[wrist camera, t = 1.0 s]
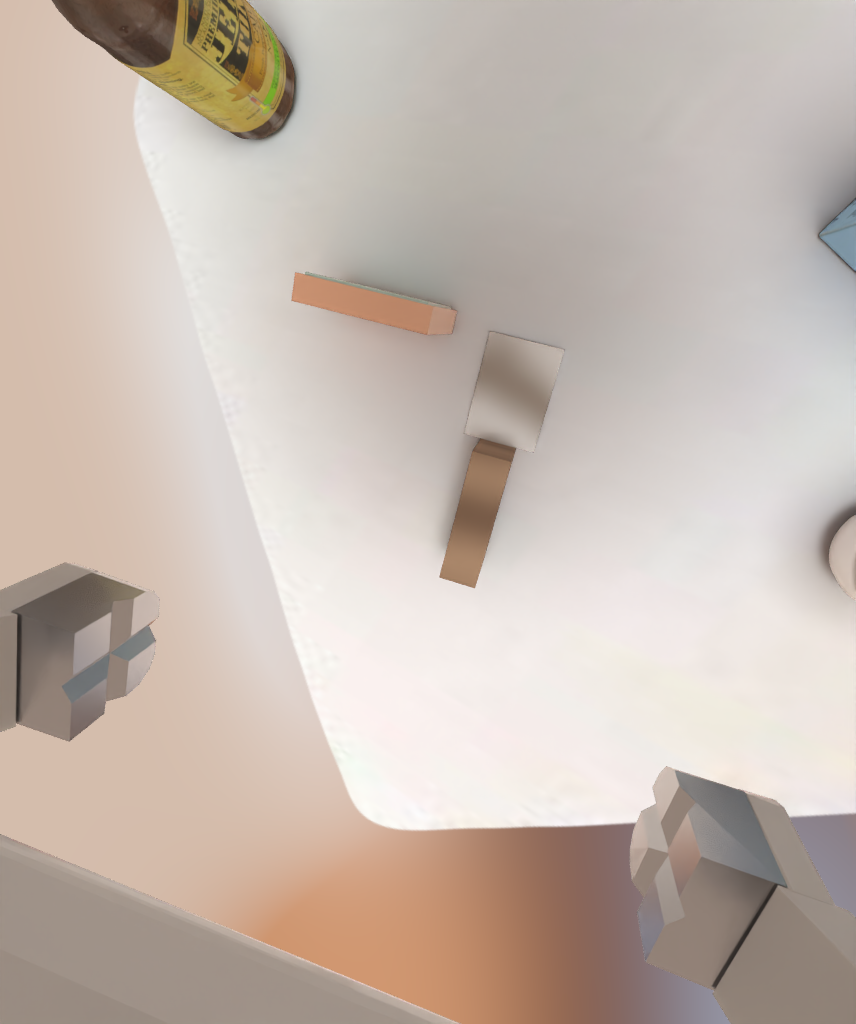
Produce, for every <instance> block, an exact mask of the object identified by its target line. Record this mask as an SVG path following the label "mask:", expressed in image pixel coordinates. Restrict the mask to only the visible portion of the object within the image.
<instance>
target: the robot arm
mask: <svg viewBox="0 0 856 1024" xmlns="http://www.w3.org/2000/svg"><path fill="white" fill-rule="evenodd" d="M159 601H160V599H159V597H158V596H157V595H156V594H155V592H154V591H151V590H148V589H146V588H143V587H140V586H137V585H134V584H132V583H129V582H127V581H123V580H121V579H118V578H115V577H113V576H110V575H107V574H105V573H100V572H98V571H96V570H94V569H91V568H87V567H84V566H81V565H78V564H75V563H63V564H60V565H58V566H56V567H53V568H51V569H49V570H46V571H44V572H42V573H39V574H37V575H35V576H32V577H30V578H28V579H25V580H23V581H21V582H19V583H16V584H14V585H11V586H9V587H7V588H4V589H2V590H0V732H2V731H5V730H7V729H10V728H13V727H15V726H16V723H17V724H20V725H23V726H26V727H29V728H32V729H34V730H38V731H40V732H43V733H46V734H49V735H52V736H55V737H57V738H60V739H63V740H66V741H71V740H72V739H73V738H74V737H75V736H77V735H78V734H79V733H81V732H82V731H83V730H84V729H86V728H87V727H88V726H89V725H91V724H92V723H93V722H94V721H95V720H97V719H98V718H99V717H100V716H102V715H103V714H104V711H105V704H106V701H109V700H113V699H116V698H120V697H124V696H126V695H127V694H128V693H130V692H131V691H132V690H133V689H134V688H135V687H136V686H138V685H139V684H140V682H141V681H142V679H143V678H144V676H145V675H146V673H147V672H148V670H149V669H150V666H151V663H152V660H153V657H154V654H155V647H156V640H155V638H154V635H153V633H152V632H151V629H150V627H149V625H150V624H152V623H153V622H154V621H155V620H156V619H157V618H158V617H159ZM653 792H654V796H655V800H656V804H655V805H653V806H651V807H649V808H647V809H645V810H643V811H641V813H640V816H639V818H638V820H637V823H636V825H635V828H634V831H633V836H632V841H631V847H630V870H631V877H632V882H633V883H634V885H635V886H636V888H637V889H638V890H639V892H640V893H641V895H642V896H643V897H644V899H643V901H642V903H641V905H640V907H639V909H638V911H637V915H638V921H639V927H640V933H641V938H642V945H643V951H644V956H645V962H647V963H649V964H651V965H654V966H656V967H658V968H661V969H663V970H666V971H668V972H670V973H673V974H676V975H678V976H681V977H683V978H685V979H688V980H690V981H692V982H695V983H697V984H699V985H702V986H704V987H707V988H709V989H711V990H714V992H713V995H714V997H715V999H716V1000H717V1002H718V1003H719V1005H720V1007H721V1008H722V1010H723V1011H724V1013H725V1015H726V1016H727V1018H728V1020H729V1021H730V1023H731V1024H856V917H855V916H854V915H853V914H852V913H851V912H849V911H848V910H845V909H842V908H840V907H837V906H835V904H834V902H833V900H832V898H831V896H830V895H829V893H828V891H827V889H826V887H825V885H824V883H823V881H822V879H821V877H820V876H819V873H818V872H817V870H816V868H815V866H814V864H813V862H812V860H811V858H810V856H809V854H808V852H807V851H806V849H805V847H804V845H803V843H802V841H801V839H800V837H799V835H798V834H797V832H796V830H795V828H794V826H793V824H792V822H791V820H790V818H789V816H788V814H787V812H786V810H785V809H784V807H783V806H782V805H780V804H779V803H778V802H777V801H776V800H773V799H770V798H767V797H764V796H760V795H757V794H754V793H750V792H747V791H744V790H741V789H735V788H732V787H729V786H726V785H723V784H719V783H716V782H713V781H710V780H707V779H704V778H701V777H698V776H695V775H692V774H689V773H685V772H682V771H679V770H676V769H673V768H670V767H667V766H666V767H665V768H664V769H663V770H662V771H661V773H660V774H659V775H658V777H657V779H656V781H655V784H654V786H653ZM0 1024H460V1023H457V1022H455V1021H453V1020H450V1019H448V1018H445V1017H443V1016H441V1015H438V1014H436V1013H433V1012H431V1011H428V1010H426V1009H424V1008H421V1007H419V1006H416V1005H414V1004H412V1003H409V1002H407V1001H404V1000H402V999H399V998H397V997H395V996H392V995H390V994H387V993H385V992H382V991H380V990H378V989H375V988H373V987H370V986H368V985H365V984H363V983H361V982H358V981H356V980H353V979H351V978H348V977H346V976H343V975H341V974H339V973H336V972H334V971H332V970H329V969H327V968H324V967H322V966H319V965H317V964H315V963H312V962H310V961H307V960H305V959H302V958H300V957H298V956H295V955H293V954H290V953H288V952H285V951H283V950H281V949H278V948H275V947H273V946H271V945H268V944H266V943H264V942H261V941H259V940H256V939H254V938H251V937H249V936H246V935H244V934H242V933H239V932H237V931H234V930H232V929H230V928H227V927H225V926H222V925H220V924H217V923H215V922H212V921H210V920H208V919H205V918H203V917H200V916H198V915H195V914H193V913H191V912H188V911H186V910H183V909H181V908H178V907H176V906H174V905H171V904H169V903H166V902H164V901H162V900H159V899H157V898H154V897H152V896H149V895H147V894H145V893H142V892H140V891H137V890H135V889H132V888H130V887H128V886H125V885H123V884H120V883H118V882H115V881H113V880H111V879H108V878H106V877H103V876H101V875H98V874H96V873H94V872H91V871H89V870H86V869H84V868H82V867H79V866H77V865H74V864H72V863H69V862H67V861H64V860H62V859H60V858H57V857H55V856H52V855H50V854H47V853H45V852H43V851H40V850H38V849H35V848H33V847H31V846H28V845H26V844H23V843H20V842H18V841H16V840H14V839H11V838H9V837H6V836H4V835H1V834H0Z"/></svg>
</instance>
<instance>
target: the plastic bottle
mask: <svg viewBox="0 0 856 1024" xmlns="http://www.w3.org/2000/svg"><path fill="white" fill-rule="evenodd" d="M829 563H830V568H831V570H832V572H833V574H834V576H835V578H836V580H837V582H838V583H839V585H840V587H841V588H842V589H843V590H844V592H845V593H846V594H847V595H849V596H850V597H851V598H852V599H854V600H855V601H856V514H855V515H854V516H852V517H851V518H850V519H848V520H847V521H846V522H845V523H844V524H843V525H842V526H841V527H840V529H839V530H838V531H837V533H836V534H835V536H834V538H833V540H832V542H831V546H830V550H829Z"/></svg>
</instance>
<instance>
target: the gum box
mask: <svg viewBox="0 0 856 1024" xmlns="http://www.w3.org/2000/svg"><path fill="white" fill-rule="evenodd" d="M819 237H820V238H821V239H822V240H824V241H825V242H826V243H827V244H828V245H829V246H830V247H831V248H832V249H833V250H834V251H835V252H836V253H837V254H838V255H839V256H840V257H841V258H842V259H843V260H844V261H845V262H846V263H847V264H848V265H849V266H851V267H852V268H853V269H854V270H855V271H856V199H855V200H854V201H853V202H852V203H851V204H850V205H849V206H848V207H847V208H846V209H844V210H843V211H842V212H841V213H840V214H839V215H838V216H837V217H836V218H835V219H834V220H833V221H832V222H831V223H830V224H829V225H828V226H827V227H826V228H825V229H824V230H823V231H822V232H821V233H820V234H819Z"/></svg>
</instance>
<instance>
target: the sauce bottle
mask: <svg viewBox="0 0 856 1024" xmlns="http://www.w3.org/2000/svg"><path fill="white" fill-rule="evenodd" d="M52 1H53V3H54V4H55V6H56V8H57V9H58V10H59V12H60V13H61V14H62V15H63V16H64V17H65V18H66V19H67V21H69V23H70V24H72V26H73V27H74V28H75V29H76V30H78V31H79V32H81V33H82V34H83V35H84V36H85V37H87V38H89V39H90V40H92V41H94V42H95V43H96V44H98V45H100V46H101V47H103V48H104V49H105V50H106V51H107V52H108V53H109V54H111V55H112V56H113V57H114V58H115V59H117V60H118V61H120V62H121V63H123V64H124V65H126V66H127V67H129V68H130V69H132V70H133V71H135V72H136V73H138V74H139V75H141V76H142V77H144V78H145V79H147V80H148V81H150V82H152V83H153V84H155V85H156V86H158V87H159V88H161V89H162V90H164V91H166V92H167V93H169V94H170V95H172V96H173V97H175V98H176V99H178V100H179V101H181V102H182V103H184V104H185V105H187V106H188V107H190V108H191V109H193V110H194V111H196V112H197V113H199V114H200V115H202V116H203V117H205V118H207V119H208V120H210V121H211V122H213V123H214V124H216V125H217V126H219V127H220V128H222V129H225V130H228V131H230V132H231V133H233V134H234V135H236V136H238V137H241V138H244V139H246V138H247V139H249V138H253V139H259V138H265V137H267V136H268V135H270V134H271V133H273V132H275V131H277V130H278V129H279V127H280V126H281V125H282V124H283V123H284V121H285V118H286V117H287V115H288V114H289V112H290V110H291V107H292V102H293V95H294V80H295V75H294V69H293V65H292V62H291V60H290V58H289V56H288V54H287V52H286V50H285V49H284V47H283V46H282V44H281V43H280V41H279V40H278V38H277V37H276V35H275V33H274V32H273V30H272V29H271V27H270V26H269V25H268V24H267V23H266V22H265V21H264V19H263V18H262V17H261V16H260V15H259V14H258V13H257V12H256V11H255V10H254V8H253V7H252V6H251V5H250V4H249V3H248V2H247V1H246V0H52Z"/></svg>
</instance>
